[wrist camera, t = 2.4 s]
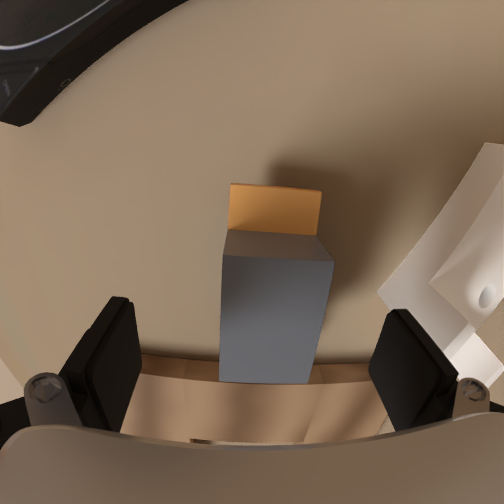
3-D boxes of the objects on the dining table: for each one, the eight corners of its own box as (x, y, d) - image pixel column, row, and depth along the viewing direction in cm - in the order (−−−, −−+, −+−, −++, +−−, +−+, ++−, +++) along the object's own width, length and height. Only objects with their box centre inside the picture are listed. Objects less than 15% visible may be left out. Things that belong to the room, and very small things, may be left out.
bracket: (427, 334, 20) (476, 399, 13) (374, 290, 18) (430, 364, 11) (520, 207, 16) (587, 237, 9) (482, 142, 15) (565, 155, 8)
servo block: (309, 184, 16) (344, 207, 10) (286, 341, 19) (300, 410, 13) (233, 177, 15) (225, 197, 10) (224, 338, 19) (218, 408, 13)
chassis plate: (397, 360, 20) (407, 377, 18) (328, 486, 28) (330, 498, 26) (101, 347, 19) (91, 364, 17) (147, 479, 27) (145, 492, 25)
